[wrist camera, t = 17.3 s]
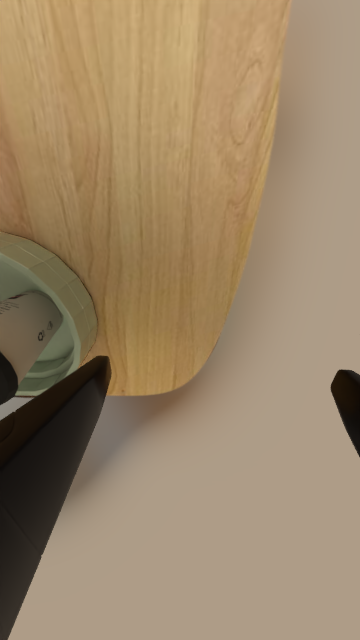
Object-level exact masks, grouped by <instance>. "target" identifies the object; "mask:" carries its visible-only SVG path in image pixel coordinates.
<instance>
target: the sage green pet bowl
mask: <svg viewBox="0 0 360 640" xmlns="http://www.w3.org/2000/svg"><path fill="white" fill-rule="evenodd" d="M29 290H37V291H41V292H44V293H46V294H48V295H49V296H50V297H51V298H52V300H53V301H54V303H55V304H56V306H57V307H58V308H59V310H60V311H61V313H62V314H63V322H62V324H61V326H60V327H59V329H58V330H57V331H56V333H55V334H54V336H53V337H52V339H51V340H50V341H49V343H48V344H47V346H46V347H45V348H44V350H43V351H42V353H41V354H40V355H39V357H38V358H37V360H36V361H35V363H34V364H33V365H32V367H31V368H30V370H29V371H28V372H27V374H26V375H25V377H24V378H23V380H22V381H21V382H20V384H19V385H18V390H17V392H16V394H15V395H31V396H37V395H39V394H41V393H42V392H44V391H45V390H47V389H48V388H50V387H51V386H53V385H54V384H56V383H57V382H59V381H60V380H62V379H63V378H65V377H66V376H68V375H69V374H71V373H72V372H74V371H75V370H77V369H78V368H79V367H80V365H81V364H82V362H83V361H84V359H85V358H86V356H87V355H88V353H89V351H90V350H91V348H92V346H93V344H94V343H95V341H96V333H97V324H98V322H97V317H96V313H95V309H94V306H93V302H92V299H91V297H90V295H89V294H88V292H87V290H86V289H85V287H84V285H83V284H82V282H81V281H80V279H79V277H78V276H77V275H76V274H75V273H74V272H73V271H72V270H71V269H70V268H69V267H68V266H67V265H66V264H64V263H63V262H62V261H61V260H60V259H59V258H58V257H57V256H56V255H55V254H53V253H51V252H50V251H48V250H46V249H45V248H43V247H41V246H40V245H38V244H36V243H35V242H33V241H31V240H29V239H26V238H22V237H19V236H15V235H12V234H8V233H4V232H0V301H2V300H5V299H8V298H10V297H13V296H15V295H18V294H20V293H23V292H26V291H29Z"/></svg>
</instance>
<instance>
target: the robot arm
mask: <svg viewBox="0 0 360 640" xmlns="http://www.w3.org/2000/svg"><path fill="white" fill-rule="evenodd" d="M110 379H111V366H110V360H109V357H108V356H96V357H95V358H93V359H92V360H90V361H89V362H87V363H86V364H84V365H83V366H81V367H80V368H78V369H77V370H75V371H74V372H72V373H71V374H69V375H68V376H66V377H65V378H63V379H62V380H60V381H59V382H57V383H56V384H54V385H53V386H51V387H50V388H48V389H47V390H45V391H44V392H42V393H41V394H39V395H38V396H36V397H35V398H34V399H32V400H31V401H29V402H28V403H26V404H25V405H23V406H22V407H20V408H19V409H17V410H16V411H15V412H12V413H11V414H9V415H8V416H7V417H5V418H4V419H2V420H1V421H0V640H8V637H9V635H10V633H11V630H12V628H13V625H14V623H15V620H16V618H17V615H18V613H19V611H20V608H21V606H22V603H23V601H24V598H25V596H26V594H27V591H28V588H29V586H30V584H31V582H32V579H33V577H34V574H35V572H36V569H37V567H38V565H39V562H40V560H41V555H42V554H43V552H44V550H45V547H46V545H47V542H48V540H49V537H50V535H51V533H52V530H53V528H54V525H55V523H56V520H57V518H58V515H59V513H60V511H61V508H62V506H63V503H64V501H65V498H66V496H67V493H68V491H69V489H70V486H71V484H72V481H73V479H74V476H75V474H76V472H77V469H78V467H79V464H80V462H81V460H82V457H83V455H84V452H85V450H86V447H87V445H88V442H89V440H90V438H91V435H92V433H93V430H94V428H95V426H96V423H97V421H98V418H99V415H100V413H101V410H102V407H103V403H104V400H105V396H106V393H107V389H108V386H109V382H110ZM331 392H332V395H333V397H334V400H335V403H336V405H337V408H338V410H339V413H340V416H341V418H342V421H343V424H344V426H345V428H346V431H347V433H348V435H349V437H350V439H351V441H352V443H353V445H354V446H355V449H356V451H357V453H358V455H359V457H360V375H359V374H357V373H355V372H354V371H352V370H339V371H338V372H337V373H336V376H335V378H334V380H333V382H332V384H331Z"/></svg>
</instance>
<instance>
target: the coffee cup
mask: <svg viewBox="0 0 360 640" xmlns="http://www.w3.org/2000/svg"><path fill="white" fill-rule="evenodd" d="M62 322H63V314H62V313H61V311H60V310H59V308H58V307H57V306H56V304H55V303H54V301H53V300H52V298H51V297H50V296H49V295H48V294H46V293H44V292H41V291H37V290H29V291H26V292H23V293H20V294H18V295H15V296H13V297H10V298H8V299H5V300H2V301H0V405H1V404H3V403H5V402H7V401H8V400H10V399H11V398H13V397H14V396H15V394H16V392H17V390H18V385H19V384H20V382H21V381H22V380H23V378H24V377H25V375H26V374H27V372H28V371H29V370H30V368H31V367H32V365H33V364H34V363H35V361H36V360H37V358H38V357H39V355H40V354H41V353H42V351H43V350H44V348H45V347H46V346H47V344H48V343H49V341H50V340H51V339H52V337H53V336H54V334H55V333H56V331H57V330H58V329H59V327H60V326H61V324H62Z"/></svg>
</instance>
